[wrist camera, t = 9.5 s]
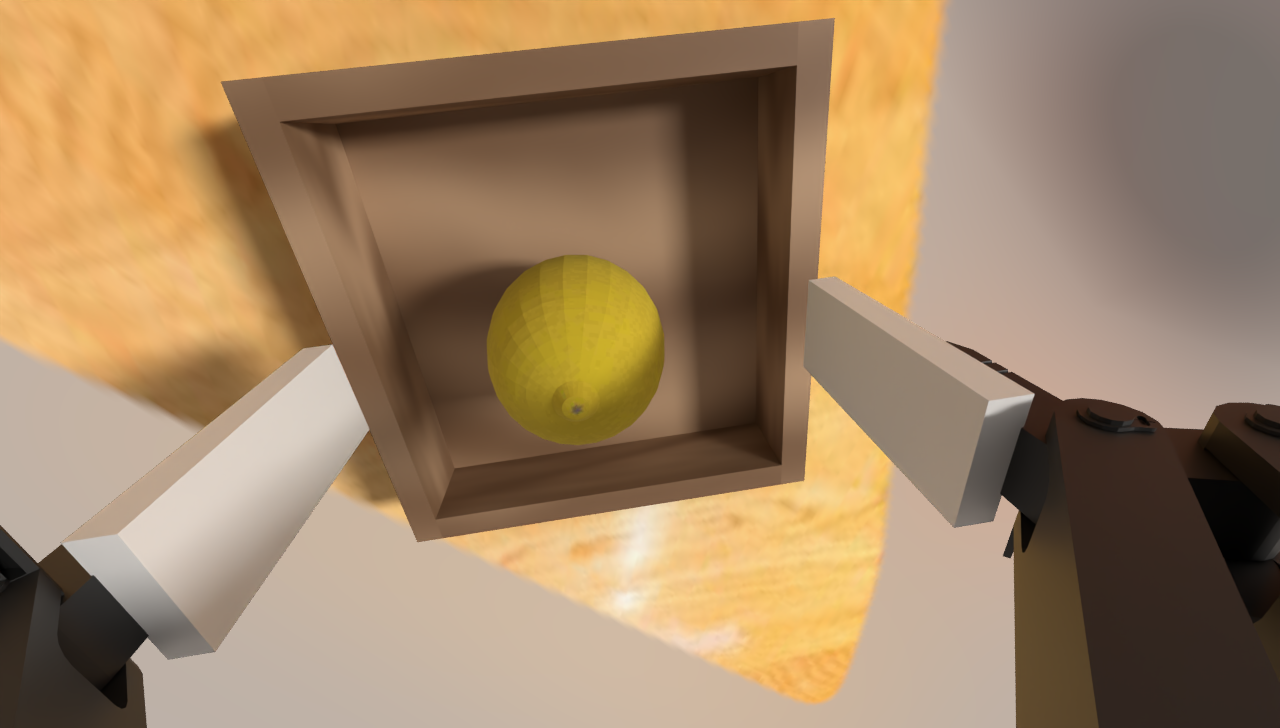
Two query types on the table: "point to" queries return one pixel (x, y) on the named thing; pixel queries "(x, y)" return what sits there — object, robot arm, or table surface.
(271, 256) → the table surface
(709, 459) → the walnut bin
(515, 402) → the lemon
